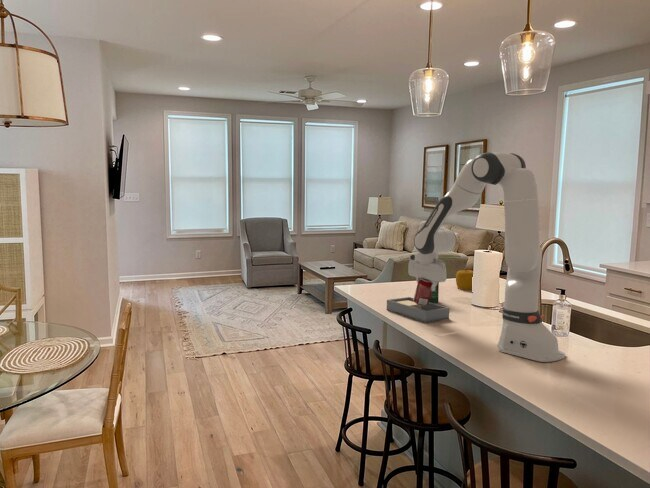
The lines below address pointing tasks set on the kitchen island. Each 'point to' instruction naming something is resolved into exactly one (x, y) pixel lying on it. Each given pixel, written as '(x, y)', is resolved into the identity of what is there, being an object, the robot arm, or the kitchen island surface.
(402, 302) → the tan square block
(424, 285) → the soda can
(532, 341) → the robot arm
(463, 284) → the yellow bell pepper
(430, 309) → the tray
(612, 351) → the kitchen island surface
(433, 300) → the coffee jar
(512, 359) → the kitchen island surface
